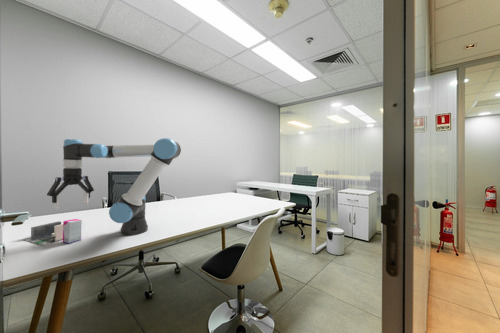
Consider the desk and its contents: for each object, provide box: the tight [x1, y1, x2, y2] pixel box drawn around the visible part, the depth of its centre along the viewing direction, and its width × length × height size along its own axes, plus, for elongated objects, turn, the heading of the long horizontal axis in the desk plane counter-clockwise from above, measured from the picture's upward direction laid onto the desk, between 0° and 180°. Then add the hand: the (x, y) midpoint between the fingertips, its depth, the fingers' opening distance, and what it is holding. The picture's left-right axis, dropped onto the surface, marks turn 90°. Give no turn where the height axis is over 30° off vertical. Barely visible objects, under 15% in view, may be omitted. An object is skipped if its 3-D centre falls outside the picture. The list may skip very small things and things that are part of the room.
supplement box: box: [62, 218, 83, 245], centre depth 107 cm, size 6×6×12 cm
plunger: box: [42, 223, 63, 242], centre depth 108 cm, size 8×13×8 cm, turn 161°
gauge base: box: [23, 221, 63, 247], centre depth 110 cm, size 18×16×6 cm
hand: (72, 206), depth 108 cm, fingers open, 13 cm apart
